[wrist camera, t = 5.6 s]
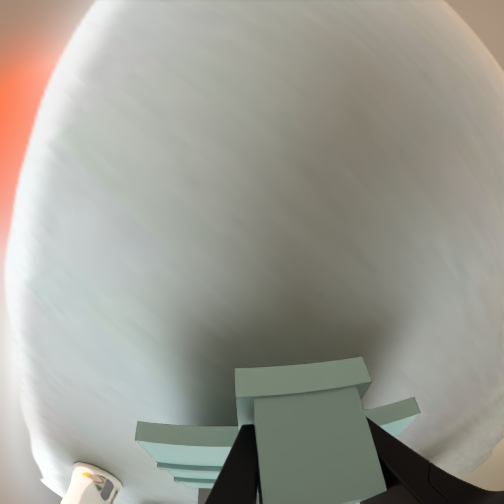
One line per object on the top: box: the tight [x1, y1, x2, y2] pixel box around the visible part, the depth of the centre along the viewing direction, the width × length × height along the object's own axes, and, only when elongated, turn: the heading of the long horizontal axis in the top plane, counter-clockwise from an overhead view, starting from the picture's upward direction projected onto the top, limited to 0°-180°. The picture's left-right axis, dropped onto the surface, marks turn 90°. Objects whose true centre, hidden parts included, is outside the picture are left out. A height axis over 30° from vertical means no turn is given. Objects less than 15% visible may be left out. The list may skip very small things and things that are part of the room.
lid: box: [135, 357, 421, 504], centre depth 10 cm, size 13×17×4 cm
